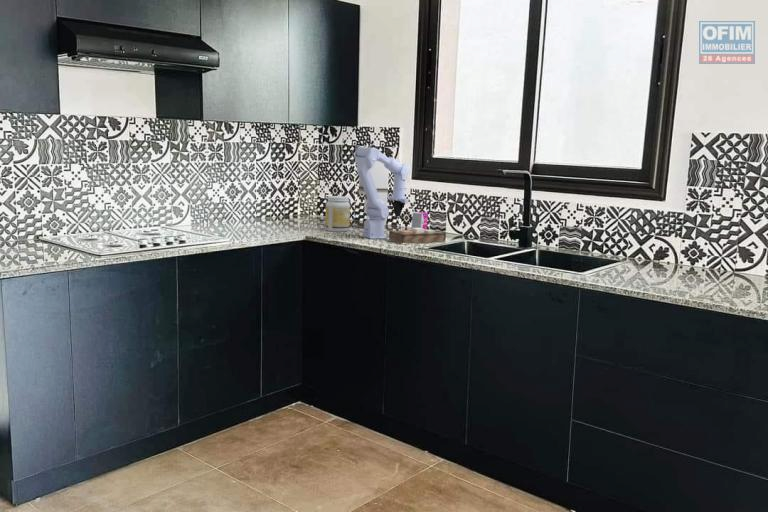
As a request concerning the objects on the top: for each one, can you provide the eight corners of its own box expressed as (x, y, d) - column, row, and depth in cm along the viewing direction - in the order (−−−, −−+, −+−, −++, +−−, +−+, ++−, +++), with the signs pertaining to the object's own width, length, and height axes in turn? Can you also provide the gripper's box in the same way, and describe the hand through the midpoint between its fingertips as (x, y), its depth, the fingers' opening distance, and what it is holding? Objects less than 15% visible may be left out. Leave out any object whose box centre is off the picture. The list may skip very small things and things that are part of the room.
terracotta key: (404, 239, 318) (404, 231, 317) (399, 237, 321) (399, 230, 321) (412, 239, 320) (412, 231, 319) (407, 237, 324) (407, 230, 323)
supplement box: (420, 236, 340) (421, 213, 338) (410, 234, 343) (411, 212, 341) (426, 235, 344) (428, 212, 342) (417, 234, 348) (418, 211, 346)
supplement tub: (353, 230, 348) (355, 197, 345) (341, 233, 337) (342, 198, 334) (333, 227, 353) (334, 195, 350) (320, 230, 342) (321, 196, 340)
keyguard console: (402, 244, 313) (403, 234, 312) (388, 239, 323) (389, 230, 322) (445, 242, 326) (445, 233, 325) (430, 238, 336) (431, 229, 335)
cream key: (416, 236, 321) (416, 229, 320) (411, 235, 324) (411, 227, 324) (424, 236, 323) (424, 229, 323) (418, 235, 327) (419, 227, 326)
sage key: (427, 238, 324) (427, 231, 324) (422, 237, 328) (422, 229, 327) (435, 238, 327) (435, 230, 326) (429, 236, 330) (430, 229, 330)
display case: (375, 226, 369) (378, 160, 363) (385, 229, 360) (389, 161, 354) (356, 226, 363) (360, 159, 357) (366, 229, 354) (370, 161, 348)
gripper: (414, 190, 331) (412, 218, 334) (397, 187, 343) (396, 214, 346) (402, 190, 328) (400, 218, 330) (385, 187, 340) (384, 214, 342)
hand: (397, 216), depth 338 cm, fingers closed
